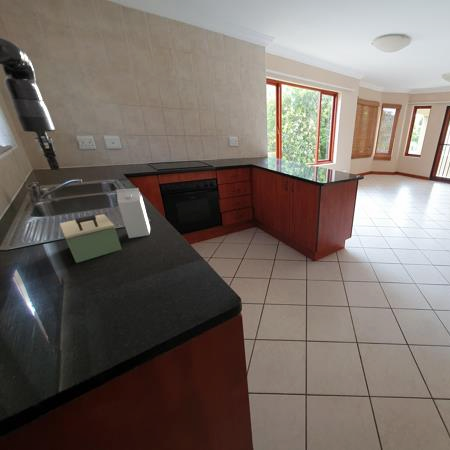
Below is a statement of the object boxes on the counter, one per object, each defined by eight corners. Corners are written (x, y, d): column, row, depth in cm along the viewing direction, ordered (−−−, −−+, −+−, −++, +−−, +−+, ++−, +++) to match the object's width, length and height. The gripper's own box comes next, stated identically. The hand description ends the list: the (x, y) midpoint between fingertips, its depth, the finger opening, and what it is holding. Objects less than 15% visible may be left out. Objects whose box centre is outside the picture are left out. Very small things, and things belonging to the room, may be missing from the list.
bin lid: (114, 226, 82) (110, 213, 80) (65, 238, 73) (59, 224, 71) (104, 216, 92) (100, 204, 90) (60, 225, 83) (54, 212, 82)
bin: (121, 249, 86) (114, 227, 82) (76, 263, 77) (65, 239, 74) (111, 236, 96) (104, 216, 92) (69, 247, 87) (60, 225, 84)
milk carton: (131, 232, 99) (117, 187, 92) (150, 228, 102) (139, 186, 95) (128, 238, 94) (114, 192, 86) (149, 235, 97) (137, 190, 89)
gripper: (51, 115, 75) (72, 170, 82) (48, 116, 83) (67, 166, 90) (16, 115, 70) (41, 173, 77) (16, 115, 78) (39, 168, 85)
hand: (55, 169), depth 83 cm, fingers closed
